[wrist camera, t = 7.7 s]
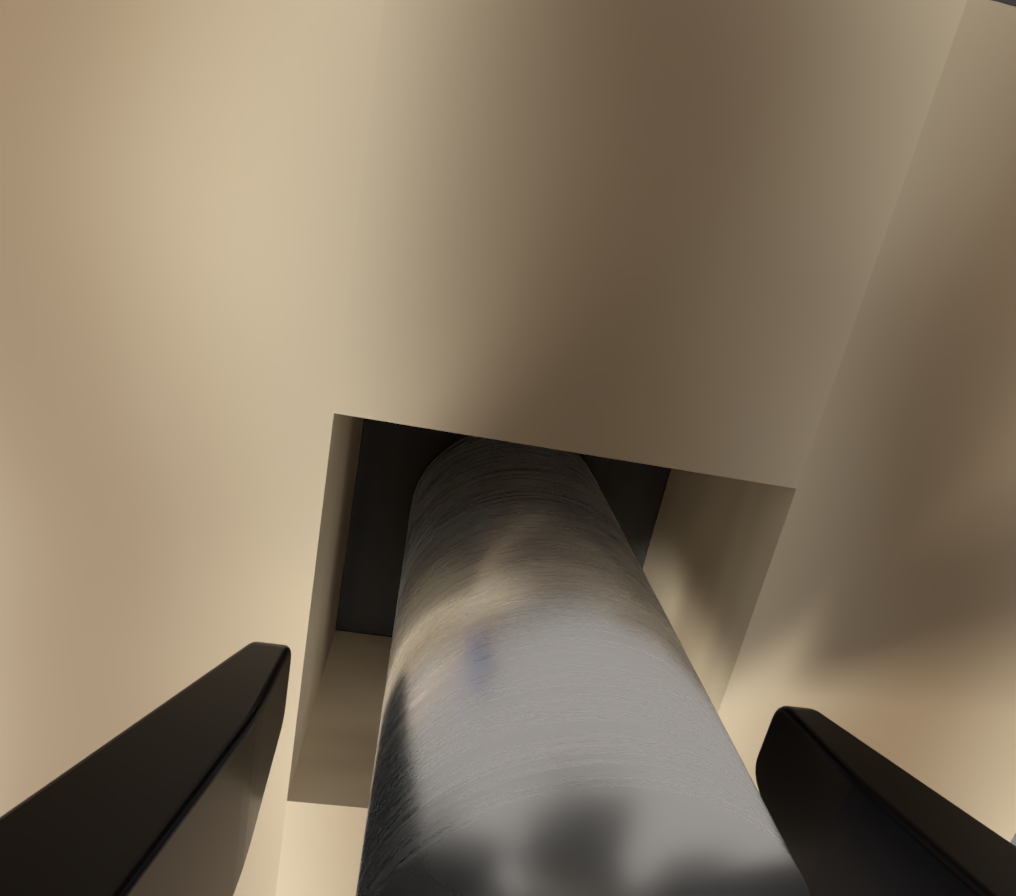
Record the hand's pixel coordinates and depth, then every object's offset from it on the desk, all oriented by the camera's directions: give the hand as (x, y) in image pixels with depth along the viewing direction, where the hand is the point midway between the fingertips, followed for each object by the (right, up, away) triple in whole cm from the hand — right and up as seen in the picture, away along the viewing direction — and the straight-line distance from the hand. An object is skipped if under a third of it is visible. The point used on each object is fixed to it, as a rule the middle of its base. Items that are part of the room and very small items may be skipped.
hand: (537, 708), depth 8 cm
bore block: (0, +2, +5) cm, 5 cm away
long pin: (0, +2, +5) cm, 5 cm away
